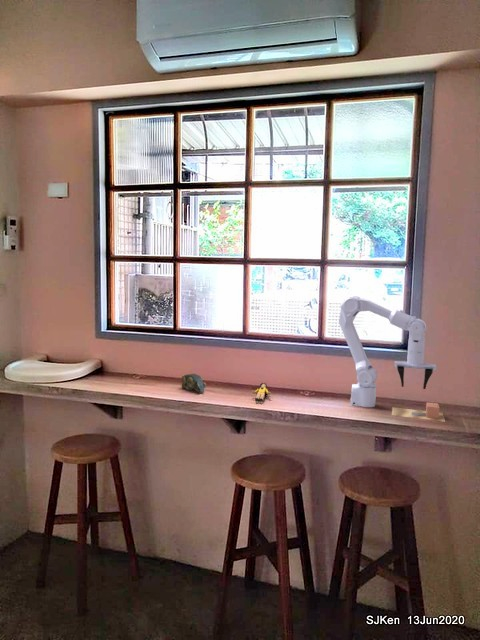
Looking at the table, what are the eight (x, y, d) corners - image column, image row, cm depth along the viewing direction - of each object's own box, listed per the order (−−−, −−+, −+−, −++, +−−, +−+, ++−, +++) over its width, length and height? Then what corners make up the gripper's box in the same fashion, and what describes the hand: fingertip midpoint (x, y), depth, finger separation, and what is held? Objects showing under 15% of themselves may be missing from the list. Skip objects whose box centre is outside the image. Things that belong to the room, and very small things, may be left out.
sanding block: (426, 417, 169) (427, 406, 169) (425, 412, 175) (426, 402, 175) (438, 418, 168) (439, 407, 168) (437, 414, 174) (438, 403, 173)
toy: (249, 396, 186) (255, 380, 200) (249, 406, 187) (254, 390, 201) (268, 398, 184) (273, 382, 199) (268, 408, 186) (272, 391, 200)
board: (391, 418, 171) (391, 414, 171) (392, 410, 182) (392, 407, 181) (445, 424, 165) (445, 421, 165) (442, 416, 176) (442, 412, 176)
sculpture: (209, 392, 199) (209, 376, 199) (196, 394, 195) (196, 378, 195) (193, 386, 210) (193, 371, 209) (180, 388, 206) (180, 372, 205)
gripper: (395, 351, 173) (392, 387, 174) (437, 355, 168) (434, 391, 170) (395, 348, 180) (393, 383, 181) (436, 352, 175) (433, 387, 176)
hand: (413, 387), depth 176 cm, fingers open, 7 cm apart
